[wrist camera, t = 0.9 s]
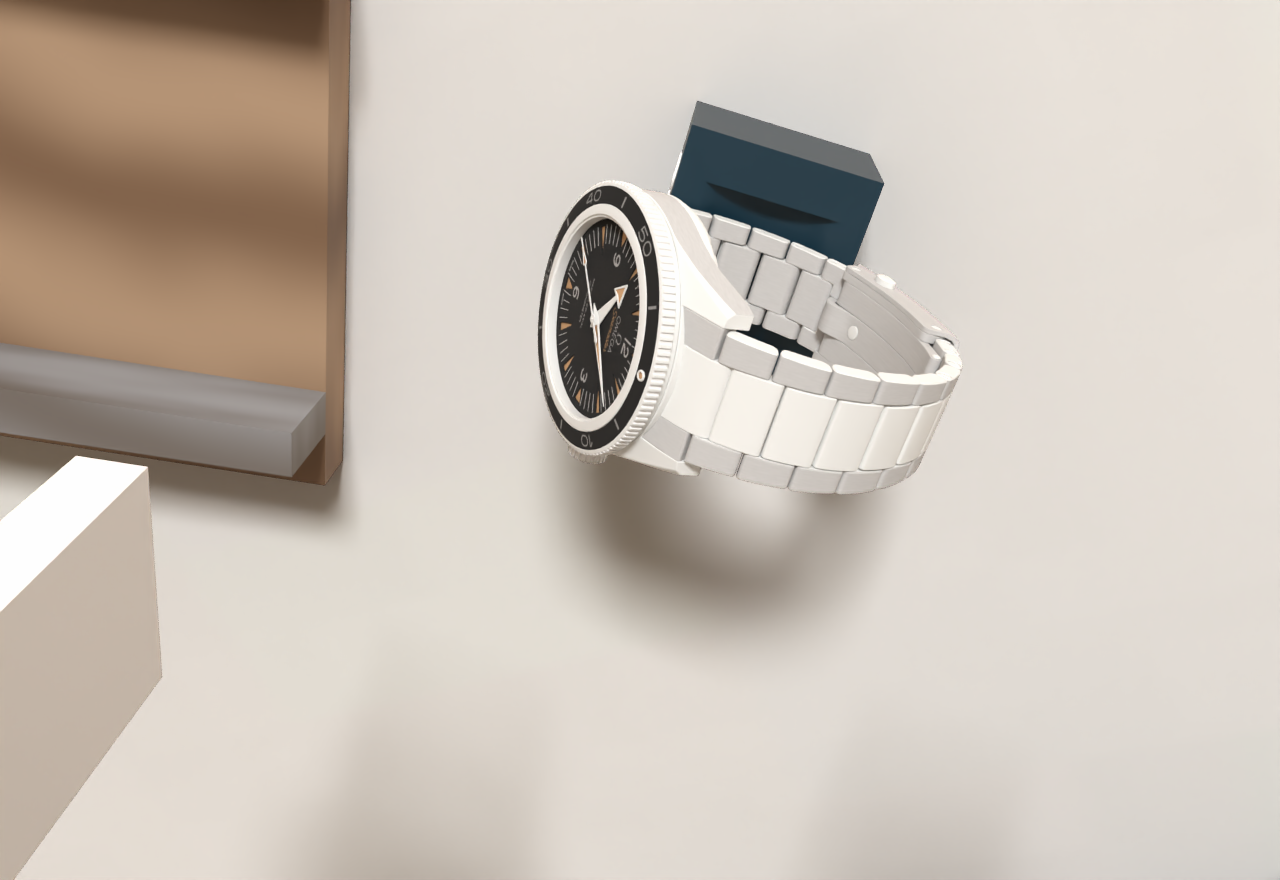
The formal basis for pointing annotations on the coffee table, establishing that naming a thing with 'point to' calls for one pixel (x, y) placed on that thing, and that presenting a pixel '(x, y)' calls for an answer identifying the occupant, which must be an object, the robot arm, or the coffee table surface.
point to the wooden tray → (176, 229)
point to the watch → (741, 320)
